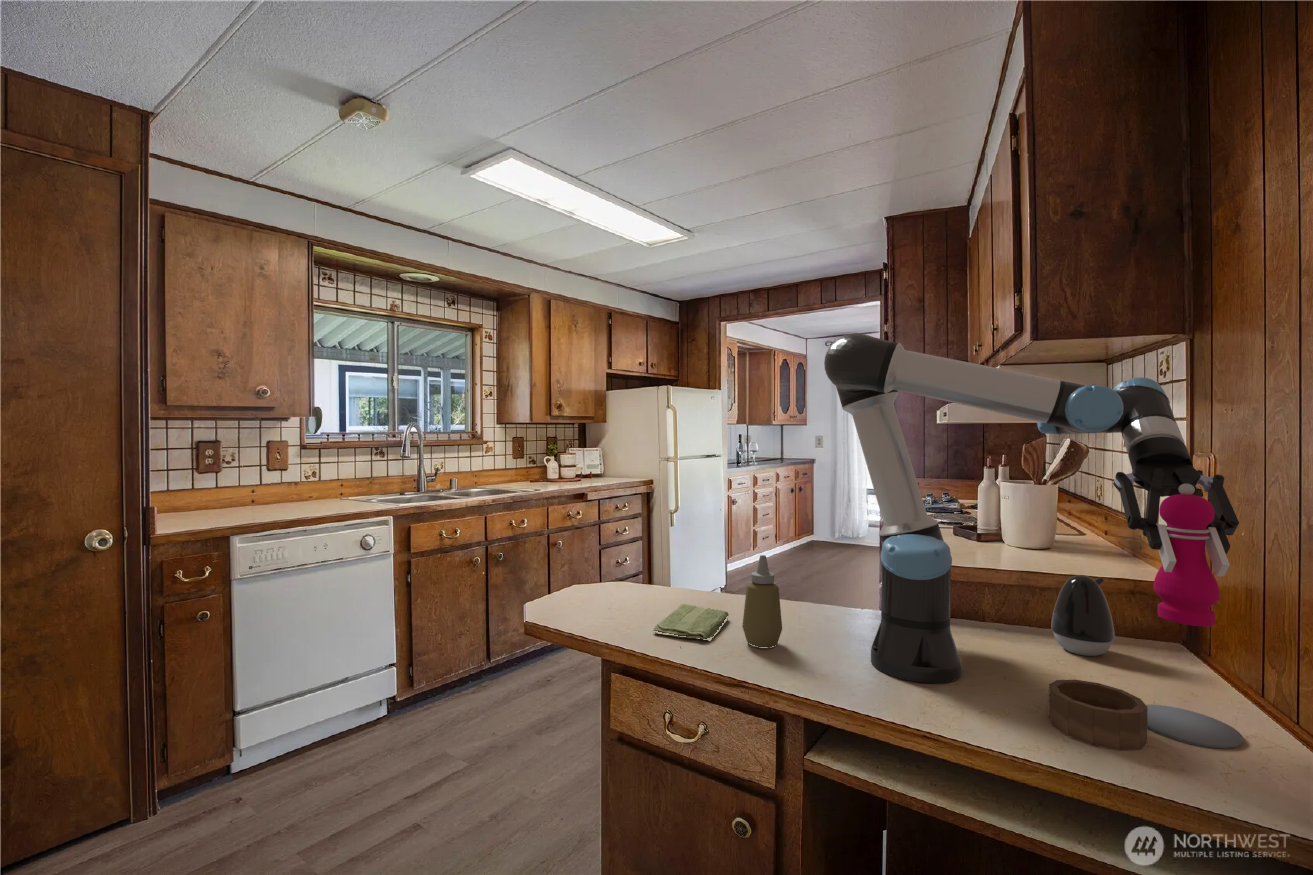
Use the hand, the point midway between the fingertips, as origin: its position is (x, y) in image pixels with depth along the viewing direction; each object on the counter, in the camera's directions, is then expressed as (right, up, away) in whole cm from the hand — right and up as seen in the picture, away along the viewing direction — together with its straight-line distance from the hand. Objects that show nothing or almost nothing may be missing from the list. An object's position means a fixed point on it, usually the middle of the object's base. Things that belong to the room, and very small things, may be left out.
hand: (1196, 568), depth 82 cm
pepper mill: (+2, -9, +3) cm, 9 cm away
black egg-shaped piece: (+9, -25, +34) cm, 43 cm away
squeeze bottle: (-55, -24, +36) cm, 70 cm away
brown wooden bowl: (-13, -24, +2) cm, 27 cm away
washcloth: (-68, -24, +47) cm, 86 cm away
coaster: (+1, -24, +3) cm, 24 cm away
